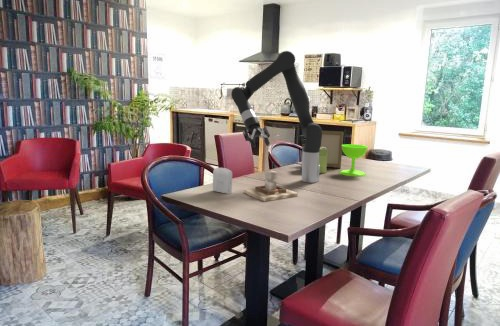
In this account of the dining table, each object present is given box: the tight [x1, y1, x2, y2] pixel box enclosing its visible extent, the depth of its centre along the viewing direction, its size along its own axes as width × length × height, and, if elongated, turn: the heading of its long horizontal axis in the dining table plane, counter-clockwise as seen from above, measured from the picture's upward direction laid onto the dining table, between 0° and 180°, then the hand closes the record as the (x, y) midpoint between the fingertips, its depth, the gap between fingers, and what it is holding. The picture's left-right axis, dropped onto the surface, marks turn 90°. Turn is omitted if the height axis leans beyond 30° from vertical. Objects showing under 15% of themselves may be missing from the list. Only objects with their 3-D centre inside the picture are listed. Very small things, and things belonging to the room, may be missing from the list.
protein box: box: [300, 146, 328, 174], centre depth 241 cm, size 10×15×16 cm
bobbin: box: [264, 170, 279, 193], centre depth 182 cm, size 6×6×10 cm
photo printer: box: [212, 167, 233, 195], centre depth 185 cm, size 10×4×12 cm, turn 60°
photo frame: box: [321, 130, 344, 169], centre depth 259 cm, size 15×22×25 cm
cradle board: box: [243, 184, 299, 203], centre depth 183 cm, size 20×18×3 cm
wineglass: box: [339, 143, 369, 178], centre depth 235 cm, size 16×16×18 cm
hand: (261, 145), depth 190 cm, fingers open, 8 cm apart
